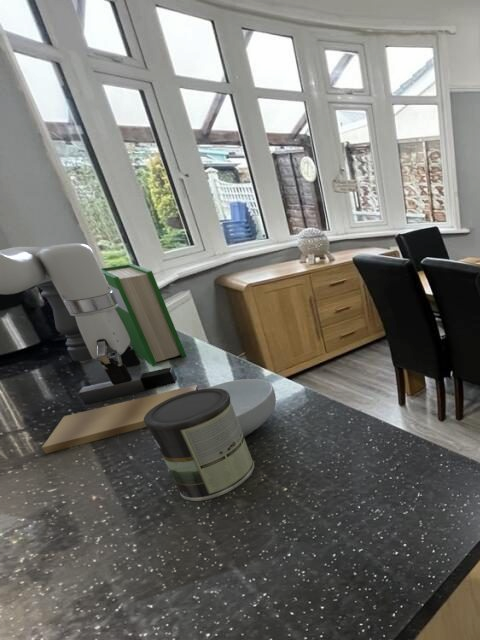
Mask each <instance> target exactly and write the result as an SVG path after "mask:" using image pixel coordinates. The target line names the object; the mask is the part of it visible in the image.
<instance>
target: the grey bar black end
mask: <svg viewBox="0 0 480 640" xmlns="http://www.w3.org/2000/svg"><path fill="white" fill-rule="evenodd" d="M131 377H132V380H131V381H130V382H126V383H121V384H117V385H113V384H112V382H111V380H110V381H106V382H100V383H96V384H91V385H87V386H83V387H82V388H80V390H79V392H78V395H79V396H80V399H81V400H82V401H83V403H84V405H88V404H93V403H97V402H101V401H105V400H110V399H114V398H119V397H122V396H127V395H131V394H135V393H141V392H145V391H149V390H153V389H159V388H163V387H165V386H170V385H174V384H176V382H177V379H178V378H177V375H176V373H175V370H174V368H173V366H169V367H164V368H161V369H156V370H152V371H146V372H143V373H141V374H137V375H131Z"/></svg>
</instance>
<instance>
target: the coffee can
mask: <svg viewBox="0 0 480 640" xmlns="http://www.w3.org/2000/svg"><path fill="white" fill-rule="evenodd" d="M207 388H208V389H206V388H201V389H198V390H195V391H190V392H187V393H183V394H180V395H177V396H175V397H172V398H170V399H168V400H165V401H164V402H162V403H160V404H158V405H156V406H155V407H153V408H152V409H151V410H150V411H149V412H148V413H147V414H146V415H145V417H144V423H145V424H146V426H147V427H146V428H148V430H149V432H150V434H151V437H152V439H153V440H154V442H155V444H156V446H157V449H158V450H159V453H160V454H161V456H162V458H163V460H164V463H165V465H166V467H167V468H168V471H169V472H170V475H171V476H172V479H173V481H174V483H175V485H176V487H177V489H178V491H179V494H180V496H181V497H182V498H183V499H184V500H186V501H190V502H203V501H208V500H212V499H214V498H218V497H221V496H223V495H225V494H227V493H230V492H231V491H233V490H235V489H236V488H238V487H240V486H241V485H242V484H243V483H244V482H245V481H246V480H247V479H249V477H250V476H251V475H252V473H253V471H254V469H255V462H254V460H253V458H252V455H251V453H250V450H249V447H248V445H247V442H246V439H245V437H244V436H243V433H242V431H241V428H240V425H239V423H238V420H237V417H236V415H235V412H234V409H233V407H232V404H231V401H230V395H229V393H228V392H227V391H226V390H223V389H218V388H209V387H207Z"/></svg>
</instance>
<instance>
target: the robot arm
mask: <svg viewBox="0 0 480 640" xmlns="http://www.w3.org/2000/svg"><path fill="white" fill-rule="evenodd" d="M101 268H102V267H101V265H100V263H99V261H98V259H97V257H96V255H95V253H94V251H93V249H92V248H91V247H90V246H89V245H87V244H85V243H79V242H78V243H77V242H75V243H73V242H72V243H62V244H55V245H50V246H14V247H9V248H4V249H0V295H14V294H19V293H21V292H24V291H27V290H29V289H30V288H31V289H32V288H33V287H37V286H36V285H39V284H41V283H44V282H47V281H51V280H52V282H53V283H54V285H55V287H56V289H57V291H58V293H59V294H60V296H61V298H62V300H63V302H64V304H65V306H66V308H67V309H68V311H69V313H70V315H71V316H75V318H76V322H77V325H78V327H79V330H80V332H81V335H82V337H83V339H84V341H85V344H86V346H87V348H88V350H89V352H90V354H91V356H92V359H93V360H96V361H98V360H99V361H100V365H102V367H103V370H104V371H105V373H106V374H107V376H108V379H109V380H110V381H111V382H112V384H113V385H117V384H121V383H126V382H130V381H131V380H132V375H131V374H130V372H129V370H128V368H132V367H137V366H140V365H141V361H140V359H139V357H138V354H136V353H135V351H134V349H133V347H132V345H131V344H130V337H129V335H128V332H127V330H126V328H125V326H124V324H123V322H122V320H121V319H120V317H119V315H118V313H117V311H116V310H115V308H116V307H118V306H119V305H118V303H117V301H116V299H115V297H114V294H113V292H112V291H111V288H110V286H109V284H108V282H107V280H106V278H105V276H104V274H103V272H102V270H101Z"/></svg>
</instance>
